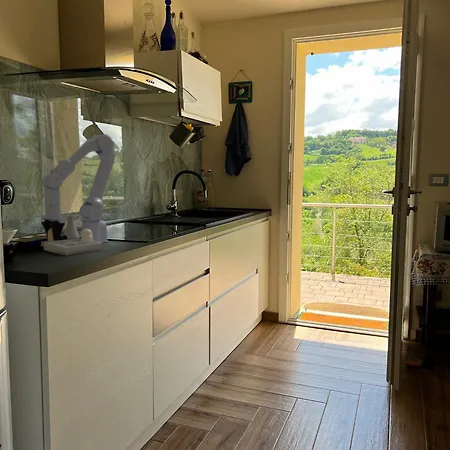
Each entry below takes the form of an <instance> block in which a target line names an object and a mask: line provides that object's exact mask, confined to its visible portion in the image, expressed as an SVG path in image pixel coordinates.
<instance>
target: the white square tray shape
mask: <svg viewBox="0 0 450 450" xmlns="http://www.w3.org/2000/svg"><path fill="white" fill-rule="evenodd" d="M43 242H44V247H43V250H44V251H46V252H47V251H48V252H50V253H54V254H58V255H62V256H66V257H67V256H74V255H79V254H86V253H93V252H100V251H103V243H104V242H102V243H101V242H96V241H93V239H92V231H91V230H90V229H84V230H83V231H82V230H81V234H80V238H77V239H62V240H59V241H52V242H45V241H43Z"/></svg>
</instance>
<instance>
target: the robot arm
mask: <svg viewBox="0 0 450 450" xmlns="http://www.w3.org/2000/svg"><path fill="white" fill-rule="evenodd" d="M114 146H115V143H114V140H113V139H112V137H111V136H110V135H108V134H106V133H102V134H94V135H92V136H90V137H89V138H88V139H86V140H85V141H84V143H83V144H82V145H81V146H79V148H78V149H77V150H76V151H75V152H74V153H73V154H72V155H71V156H70V157H69V158H63V159H60V160H58V162H57V165H56V166H55V167H54V168H53V169H52V168H51V169H49V173H46V174H45V175H44V176H43V177H42V180H41V184H42V186H43V189H44V190H43V191H44V193H43V196H44V198H43V199H44V214H41V215H40V220H41V221H40V223H41V224H40V225H42V227H43V229H44V232H45V236H46V239H47V240H48V231H49V230H50V229H52V234H53V240H54V241H58V240H59V241H61V240H60V239H61V235H62V232H63V229H64V227H65V226H66V217H64V216H62V214H61V187H62V185H63V182H64V181H65V180H66V179H67V178H68V177H69V176H70V175H72V173H74V171H75V170H76V165H77V164H78V163H80V162H81V161H82V160H83V159H84V158H85V157H86V156H87V155H88V154H90V153H94V152H95V153H96V154H97V157H99V160H100V161H99V164H98V167H97V171H96V173H95V176H94V180H93V182H92V185H91V188H90V191H89V195H88V196H87V197H86V199H85V200H84V202H83V204H82V205H81V206H80V207H79V211H78V212H79V213H78V214H79V215H80V217H81V232H82V231H83V230H84V229H90V230H91V231H92V239H93V241H96V242H101V243H108V242H109V240H108V230H107V229H108V228H107V227H108V226H107V222H106V221H105V220H101V218H102V217H103V213H104V211H103V207H104V202H103V198H104V194H105V191H106V188H107V185H108V181H109V179H110V176H111V174H112V170H113V166H114V163H115V160H116V157H115V149H114Z"/></svg>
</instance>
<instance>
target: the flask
mask: <svg viewBox="0 0 450 450" xmlns="http://www.w3.org/2000/svg"><path fill="white" fill-rule="evenodd" d="M66 217H67V221H66V225H65V226H66V227H65V230H64V233H63V235H66V236H67V239H66V240H69V239H77V238H81V236H80V234H79V232H78V229H77V226H76V224H75V219H74V218H75V215H74V214H67V215H66Z"/></svg>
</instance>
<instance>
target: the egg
mask: <svg viewBox="0 0 450 450" xmlns="http://www.w3.org/2000/svg"><path fill="white" fill-rule="evenodd" d="M47 241H48V242H52V241H54V240H53V234H52V229H50V230H49V231H48V239H47ZM58 241H60V240H58Z"/></svg>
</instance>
